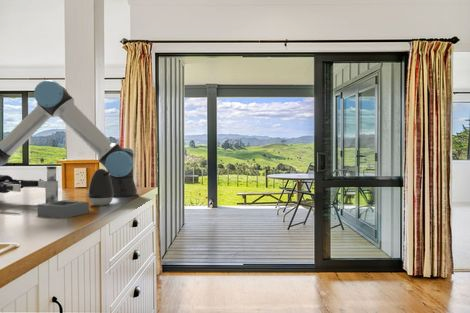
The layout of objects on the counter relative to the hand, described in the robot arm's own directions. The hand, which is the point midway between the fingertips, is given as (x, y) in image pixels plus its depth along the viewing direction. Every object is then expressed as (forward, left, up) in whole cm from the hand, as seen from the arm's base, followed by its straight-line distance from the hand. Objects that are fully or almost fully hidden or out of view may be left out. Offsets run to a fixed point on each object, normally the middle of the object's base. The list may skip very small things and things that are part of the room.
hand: (35, 186), depth 150 cm
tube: (0, +9, -8) cm, 12 cm away
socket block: (+6, +22, -8) cm, 24 cm away
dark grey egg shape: (-16, +19, -9) cm, 26 cm away
